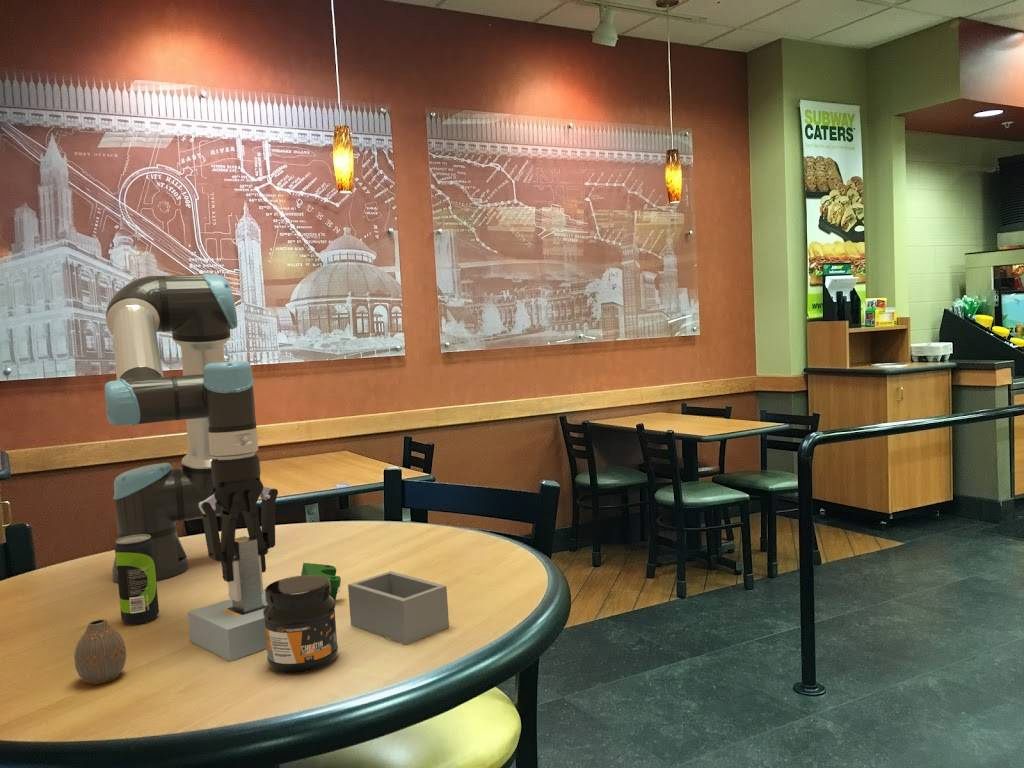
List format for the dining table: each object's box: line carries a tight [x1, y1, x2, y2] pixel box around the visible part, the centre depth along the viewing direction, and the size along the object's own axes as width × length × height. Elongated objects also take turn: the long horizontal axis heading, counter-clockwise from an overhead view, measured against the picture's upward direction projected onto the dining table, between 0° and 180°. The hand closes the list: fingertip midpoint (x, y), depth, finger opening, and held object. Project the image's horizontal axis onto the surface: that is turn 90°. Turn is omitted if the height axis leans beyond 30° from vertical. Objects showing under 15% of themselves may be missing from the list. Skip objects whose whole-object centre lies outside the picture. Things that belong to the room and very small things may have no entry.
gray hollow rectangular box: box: [347, 570, 450, 646], centre depth 136 cm, size 15×9×7 cm, turn 46°
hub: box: [187, 588, 267, 662], centre depth 135 cm, size 14×14×5 cm
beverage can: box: [114, 534, 160, 626], centre depth 147 cm, size 6×6×15 cm
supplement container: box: [263, 575, 339, 675], centre depth 123 cm, size 10×10×12 cm
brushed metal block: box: [232, 536, 263, 615], centre depth 134 cm, size 4×3×12 cm
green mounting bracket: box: [300, 562, 342, 602], centre depth 153 cm, size 12×6×9 cm, turn 14°
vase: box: [73, 618, 127, 685], centre depth 121 cm, size 7×7×9 cm
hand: (246, 595), depth 135 cm, fingers closed on brushed metal block, 3 cm apart
